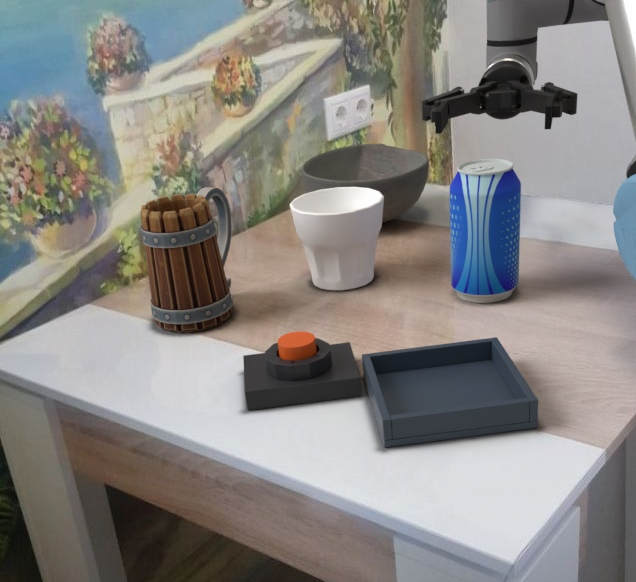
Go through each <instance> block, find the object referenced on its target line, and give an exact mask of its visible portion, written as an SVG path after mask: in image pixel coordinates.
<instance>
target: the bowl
mask: <svg viewBox="0 0 636 582" xmlns="http://www.w3.org/2000/svg"><path fill="white" fill-rule="evenodd" d="M429 170H430V159H429V157H428V156H427V154H425V153H422V152H419V151H416V150H413V149H406V148H401V147H397V146H392V145H387V144H384V143H364V144H363V143H361V144H351V145H346V146H341V147H337V148H334V149H331V150H328V151H325V152H322V153H319V154H317V155H315V156H313V157H312V158H310V159H308V160H306V161H305V162H304V164H303V165H302V166H301V171H300V173H301V181H302V184H303V188H304V190H305V192H306V193H309V192H313V191H317V190H322V189H329V188H336V187H362V188H370V189H373V190H376V191H379V192H380V193H381V194H382V195H383V196H384V204H383V216H382V224H383V223H386V222H389V221H392V220H394V219H396V218H398V217H400V216H401V215H403V214H404V213H406V212H407V211H409V210H410V209H411V208H413V207H414V205H416V203H417V202H418V201H419V199H420V198H421V196H422V194H423V192H424V189H425V187H426V184H427V180H428V176H429Z"/></svg>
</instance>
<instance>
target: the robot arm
mask: <svg viewBox="0 0 636 582" xmlns="http://www.w3.org/2000/svg"><path fill="white" fill-rule="evenodd" d="M485 1H486V48H485V49H486V50H485V51H486V52H485V53H486V54H485V55H486V57H485V59H486V61H485V65H486V66H485V71H484V72H483V74H482V76H481V78H480V80H479V83H478V86H475V87H472V88H470V90H469V92H465V89H464V88H463V87H462V86H456V87H454V88H453V89H451V90H449V91H446V92H443V93H441V94H438V95H435V96H432V97H429V98H426V99H422V100H421V117H422V119H421V120H422V121H423V122H428V121H430V122H431V124H433V123H434V127H435V135H437V134H438V135H440V134H442V133H443V132H444V130H445V129H446V127H447V125H448V123H449V120H451V119H454V118H457V117H460V116H464V115H469V114H472V115H483V114H486V115H488V117H491V118H493V119H496V120H509V119H513V118H515V117H517V116H519V114H523V113H529V112H533V113H539V114H544V130H551V129H552V125H553V119H554V118H555V119H556V118H557V119H558V118H562V116H563V113H564V114H566V115H570V116H573V115H577V110H578V93H577V92H574V91H571V90H569V89H565V88H563V87H560V86H557V85H555V84H554V82H551V81H547V82H545V83H544V84H541V85H540V88H539V89H534V86H535V84H536V80H537V79H538V72H539V71H538V69H539V68H538V67H539V65H538V61H537V57H538V56H537V55H538V52H537V51H538V36H539V35H538V31H539V29H540V28H547V27H549V28H550V27H556V26H566V25H574V24H575V25H576V24H584V23H593V22H602V21H603V22H608V24H609V28H610V33H611V37H612V42H613V46H614V51H615V55H616V60H617V64H618V69H619V74H620V79H621V83H622V87H623V92H624V97H625V102H626V106H627V110H628V113H629V114H628V115H629V118H630V122H631V127H632V131H633V136H634V140H635V142H636V0H485ZM625 175H626V179H625V180H624V181H623V182H622V183H621V184H620V186H619V187H618V189H617V190H616V194H615V197H614V201H613V208H612V209H613V210H612V213H613V215H614V218H615V220H614V222H613V225H612V226H613V234H614V239H615V243H616V246H617V250H618V252H619V255H620V258H621V260H622V262H623V264H624V265H623V266H625V268H626V270H627V271H628V273H629V275H630V276H631V277H632V279H633V280H634V281H636V154H635V155H634V156H633V158H632V159H631V161H630V162H629V164H628V165H627V167H626V172H625Z"/></svg>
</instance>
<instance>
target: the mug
mask: <svg viewBox="0 0 636 582" xmlns="http://www.w3.org/2000/svg"><path fill="white" fill-rule="evenodd" d="M211 199H212V201H213V203H214V206H215V209H216V214H217V228H218V230H217V229H216V224H215V220H214V215H212V213H211V209H210V205H209V202H210V200H211ZM140 220H141V225H140V232H141V240H142V243H143V244H144V251H145V259H146V267H147V268H146V269H147V274H148V283H149V291H150V309H151V310H150V311H151V316H152V318H153V320H154V323H155V324H156V325H157V326H158V327H159V328H161V329H163V330H165V331H168V332H173V333H192V332H193V333H194V332H199V331H204V330H208V329H211V328H214V327H216V326H219V325H221V324H222V323H224V322H225V321H226V320H227V319H229V317H230V316H231V314H232V313H233V312H234V302H233V297H232V293H231V287H232V278H231V277H226V273H225V268H224V267H225V265H226V261H227V258H228V256H229V251H230V248H231V244H232V243H231V242H232V234H233V233H232V229H233V228H232V227H233V226H232V225H233V224H232V212H231V206H230V201H229V200H228V197H227V195H226V194H225V192H224V191H223V190H222V189H221V188H220V187H212V186H211V187H209V186H205V187H203V188H201V189H200V190H199V191H198V192H197V193H196V194H195V193H187V194H186V195H185V196H184V194H182V193H179V194H173V195H171V197H170V198H169V197H168V196H167V195H166V196H161V197H160V196H159V197H158V198H157V199H156V200H155V199H152V200H149V201H146V203H145V204H143V205H141V207H140ZM216 233H217V235H216Z"/></svg>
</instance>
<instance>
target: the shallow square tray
mask: <svg viewBox="0 0 636 582" xmlns="http://www.w3.org/2000/svg"><path fill="white" fill-rule="evenodd" d="M361 362H362V375H363V382H364V385H365V388H366V391H367V394H368V398H369V401H370V404H371V407H372V411H373V415H374V417H375V421H376V425H377V427H378V431H379V434H380V439H381V441H382V444H383V447H384V448H393V447H400V446H409V445H416V444H422V443H423V444H424V443H431V442H437V441H438V442H439V441H447V440H454V439H463V438H469V437H477V436H485V435H492V434H499V433H508V432H516V431H523V430H532V429H537V428H538V419H539V417H538V416H539V400H538V398H537V396H536V394H535V393H534V391H533V390H532V389H531V387H530V386H529V384H528V382H527V380H526V379H525V377H524V376H523V374H522V373H521V372H520V371H519V369H518V367H517V366H516V364H515V362H514V361H513V360H512V358H511V357H510V355H509V354H508V352H507V350H506V349H505V347H504V346H503V344H502V343H501V341H500V340H499V338H498V337H495V336H494V337H489V338H488V337H487V338H481V339H473V340H464V341H457V342H448V343H441V344H434V345H433V344H432V345H425V346H417V347H416V346H415V347H407V348H401V349H393V350H392V349H391V350H385V351H378V352H370V353H363V354H361Z"/></svg>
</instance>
